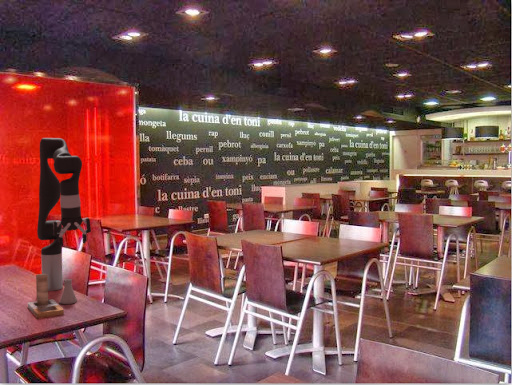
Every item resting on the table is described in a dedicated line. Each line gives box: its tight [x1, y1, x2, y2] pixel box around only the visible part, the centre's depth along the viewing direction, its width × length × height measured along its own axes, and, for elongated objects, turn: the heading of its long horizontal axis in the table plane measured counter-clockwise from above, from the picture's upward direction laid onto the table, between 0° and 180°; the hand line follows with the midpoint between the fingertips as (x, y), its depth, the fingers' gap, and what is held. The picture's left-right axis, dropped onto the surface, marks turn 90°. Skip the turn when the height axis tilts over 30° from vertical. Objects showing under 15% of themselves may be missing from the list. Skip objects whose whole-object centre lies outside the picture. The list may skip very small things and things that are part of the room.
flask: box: [59, 278, 78, 305], centre depth 219 cm, size 7×7×10 cm
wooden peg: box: [35, 273, 49, 306], centre depth 210 cm, size 4×4×14 cm
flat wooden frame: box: [27, 298, 65, 320], centre depth 206 cm, size 19×10×2 cm, turn 35°
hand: (73, 244), depth 205 cm, fingers open, 8 cm apart
